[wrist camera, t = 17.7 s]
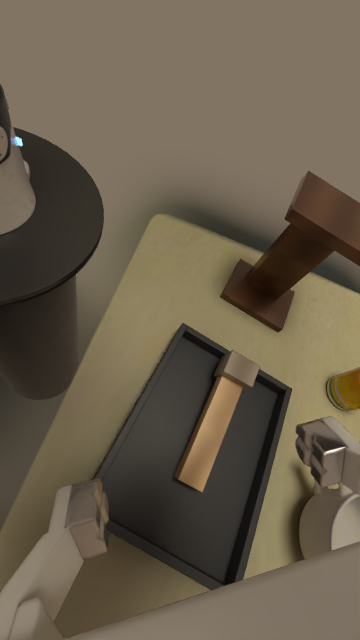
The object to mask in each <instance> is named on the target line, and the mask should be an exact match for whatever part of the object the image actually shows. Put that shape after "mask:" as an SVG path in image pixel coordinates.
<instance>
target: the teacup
mask: <svg viewBox="0 0 360 640" xmlns="http://www.w3.org/2000/svg"><path fill="white" fill-rule="evenodd" d="M338 484H339V488H338V489H328V487H323V488H321V487H320V485H319V484H318V482H317V481H316V480H315V487H314V496H313V497H312V498H311V499H310V500H309V501H308V502H307V504H306V506H305V508H304V509H303V512H302V515H301V519H300V526H299V538H300V545H301V550H302V553H303V557H304V559H308V558H311V557H314V556H317V555H320V554H323V553H326V552H329V551H332V550H335V549H338V548H341V547H344V546H347V545H350V544H353V543H356V542H359V541H360V495H358V494H357V493H355V492H354V491H352V490H351V489H349V488H347V487H346V486H344V485H343V484H342V483H338Z"/></svg>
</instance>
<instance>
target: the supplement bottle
mask: <svg viewBox="0 0 360 640" xmlns="http://www.w3.org/2000/svg"><path fill="white" fill-rule="evenodd" d="M327 393H328V396H329V398H330V400H331V401H332V403H333V404H334V405H335V406H336V407H338V408H339V409H341V410H345V411H350V410H355V409H360V367H359V368H356V369H353V370H351V371H348V372H345V373H342V374H339V375H336V376H333V377H332V378H330V380H329V381H328V384H327Z"/></svg>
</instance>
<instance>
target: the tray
mask: <svg viewBox="0 0 360 640" xmlns="http://www.w3.org/2000/svg"><path fill="white" fill-rule="evenodd" d="M229 352H230V351H229V350H227V349H225V348H224V347H222V346H220V345H219V344H217V343H215V342H214V341H212V340H210V339H209V338H207V337H205V336H204V335H202V334H200V333H199V332H197V331H195V330H194V329H192V328H190V327H189V326H187V325H186V324H184V323H182V325H181V326H180V328H179V329H178V330H177V332H176V334H175V336H174V337H173V339H172V341H171V343H170V344H169V346H168V348H167V350H166V351H165V353H164V355H163V357H162V358H161V360H160V362H159V364H158V365H157V367H156V369H155V371H154V372H153V374H152V376H151V378H150V380H149V381H148V383H147V385H146V387H145V388H144V390H143V392H142V394H141V395H140V397H139V399H138V401H137V402H136V404H135V406H134V408H133V409H132V411H131V413H130V415H129V416H128V418H127V420H126V422H125V423H124V425H123V427H122V429H121V430H120V432H119V434H118V436H117V437H116V439H115V441H114V443H113V444H112V446H111V448H110V450H109V451H108V453H107V455H106V457H105V458H104V460H103V462H102V464H101V466H100V467H99V469H98V471H97V473H96V474H95V476H94V478H93V479H98V478H101V481H102V484H103V489H102V491H104V492H106V495H107V499H108V505H109V520H108V522H107V524H106V527H107V529H108V531H109V532H111V533H113V534H114V535H116V536H118V537H120V538H121V539H123V540H125V541H127V542H128V543H130V544H132V545H134V546H135V547H137V548H139V549H141V550H142V551H144V552H146V553H148V554H149V555H151V556H153V557H155V558H156V559H158V560H160V561H162V562H163V563H165V564H167V565H169V566H170V567H172V568H174V569H176V570H177V571H179V572H181V573H183V574H184V575H186V576H188V577H190V578H191V579H193V580H195V581H197V582H198V583H200V584H202V585H204V586H205V587H207V588H209V589H211V590H214V589H217V588H220V587H223V586H226V585H229V584H232V583H235V582H238V581H241V580H243V577H244V573H245V570H246V566H247V562H248V558H249V554H250V550H251V546H252V542H253V539H254V535H255V531H256V527H257V523H258V519H259V515H260V512H261V508H262V504H263V500H264V496H265V492H266V488H267V484H268V481H269V477H270V473H271V469H272V465H273V461H274V457H275V453H276V450H277V446H278V442H279V438H280V434H281V430H282V426H283V423H284V419H285V415H286V411H287V407H288V403H289V399H290V395H291V392H292V388H290V387H288V386H287V385H285V384H283V383H282V382H280V381H278V380H277V379H275V378H273V377H272V376H270V375H268V374H267V373H265V372H263V371H262V370H260V369H259V370H258V373H257V376H256V379H255V381H254V384H253V387H251V388H247V389H244V390H242V391H241V394H240V396H239V399H238V401H237V404H236V407H235V409H234V412H233V414H232V417H231V420H230V422H229V425H228V427H227V430H226V433H225V435H224V438H223V440H222V443H221V445H220V448H219V451H218V453H217V456H216V458H215V461H214V464H213V466H212V469H211V471H210V474H209V477H208V479H207V482H206V484H205V487H204V489H203V492H200V491H198V490H197V489H195V488H193V487H191V486H189V485H187V484H186V483H184V482H182V481H180V480H178V479H177V478H176V477H174V475H175V473H176V471H177V469H178V466H179V464H180V462H181V459H182V457H183V455H184V452H185V450H186V448H187V446H188V443H189V441H190V439H191V436H192V434H193V432H194V429H195V427H196V425H197V423H198V420H199V418H200V416H201V413H202V411H203V409H204V406H205V404H206V402H207V400H208V397H209V395H210V393H211V390H212V388H213V386H214V383H215V381H216V379H217V377H215V376H214V374H215V372H216V369H217V367H218V365H219V363H220V360H221V358H222V356H224V355H225V354H227V353H229Z"/></svg>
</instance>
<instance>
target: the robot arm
mask: <svg viewBox="0 0 360 640" xmlns="http://www.w3.org/2000/svg"><path fill="white" fill-rule="evenodd" d="M8 109H9V107H8V103H7V100H6V98H5V95H4V91H3V88H2V86H1V85H0V235H1V234H5V233H8V232H10V231H12V230H14V229H16V228H18V227H20V226H21V225H22V224H24V223H25V222H26V221H27V220H28V219H29V218H30V216H31V215H32V213H33V211H34V209H35V204H36V198H35V194H34V191H33V189H32V187H31V184H30V182H29V180H30V168H29V165H28V163H27V162H26V161H24V160H23V158H22V155H21V151H20V148H19V145H20V146H22V145H23V144H22V139H20V138H18V137H16V135H15V132H14V129H13V126H12V124H11V121H10V116H9V112H8ZM296 433H297V434H298V438H297V439H296V449H297V453H298V455H299V457H300V459H301V460H302V462H303V463H304V464H305V465H307V466H309V467H311V474H312V476H313V477H314V478H315V480H316V481H317V482H318V484H319V485H320V487H321V488H323V487H327V486H330V485H334V484H338V483H342V484H343V485H344V486H346V487H347V488H349V489H351V490H352V491H354V492H355V493H357V494H358V495H360V442H359V441H358V440H357V439H356V438H355V437H353V436H352V435H351V434H350V433H349V432H348V431H347V430H346V429H345V428H344V427H343V426H342V425H341V424H340V423H339V422H338V421H337V420H336V419H335V418H334V417H332V416H328V417H325V418H321V419H317V420H313V421H310V422H306V423H303V424H299V425H297V427H296ZM102 489H103V484H102V481H101V478H98V479H93V480H89V481H85V482H81V483H77V484H73V485H69V486H65V487H61V488H59V489H58V491H57V494H56V498H55V503H54V507H53V512H52V516H51V521H50V525H49V530H48V533H46V534H43V536H42V537H41V538H40V540H39V541H38V542H37V544H36V545H35V546H34V548H33V549H32V550H31V552H30V553H29V554H28V556H27V557H26V558H25V560H24V561H23V562H22V564H21V565H20V566H19V568H18V569H17V570H16V572H15V573H14V574H13V576H12V577H11V578H10V580H9V581H8V582H7V584H6V585H5V586H4V588H3V589H2V590H1V592H0V640H360V541H359V542H356V543H353V544H350V545H347V546H344V547H341V548H338V549H335V550H332V551H329V552H326V553H323V554H320V555H317V556H314V557H311V558H308V559H304V560H301V561H298V562H295V563H292V564H289V565H286V566H283V567H280V568H277V569H274V570H271V571H268V572H265V573H262V574H259V575H256V576H253V577H250V578H247V579H244V580H241V581H238V582H235V583H232V584H229V585H226V586H223V587H220V588H217V589H214V590H211V591H208V592H205V593H202V594H199V595H196V596H193V597H190V598H187V599H184V600H181V601H178V602H175V603H172V604H169V605H166V606H163V607H160V608H157V609H154V610H151V611H148V612H145V613H142V614H139V615H136V616H133V617H130V618H127V619H124V620H121V621H118V622H115V623H112V624H109V625H105V626H102V627H99V628H96V629H93V630H90V631H87V632H84V633H81V634H78V635H75V636H72V637H69V638H66V639H63V637H62V636H61V634H60V632H59V631H58V629H57V627H56V626H55V624H54V623H53V622H54V620H55V618H56V616H57V614H58V612H59V610H60V608H61V606H62V604H63V602H64V600H65V598H66V596H67V594H68V592H69V590H70V588H71V586H72V584H73V582H74V580H75V578H76V576H77V574H78V572H79V570H80V568H81V566H82V564H83V562H84V561H83V560H85V559H88V558H91V557H94V556H97V555H100V554H103V553H106V552H108V529H107V527H106V524H107V522H108V520H109V505H108V499H107V495H106V492H104V491H102Z"/></svg>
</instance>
